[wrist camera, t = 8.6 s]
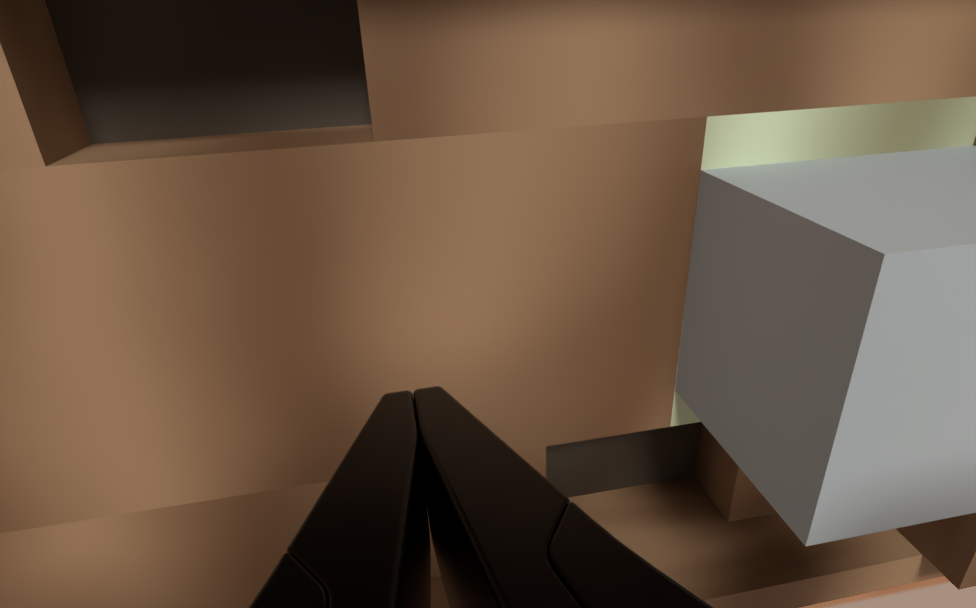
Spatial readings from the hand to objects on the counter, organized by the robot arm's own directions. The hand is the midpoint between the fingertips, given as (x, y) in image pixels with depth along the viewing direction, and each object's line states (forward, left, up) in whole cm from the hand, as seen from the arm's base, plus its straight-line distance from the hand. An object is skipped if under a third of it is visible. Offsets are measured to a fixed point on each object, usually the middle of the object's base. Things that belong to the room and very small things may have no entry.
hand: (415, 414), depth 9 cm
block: (+7, +5, -3) cm, 9 cm away
